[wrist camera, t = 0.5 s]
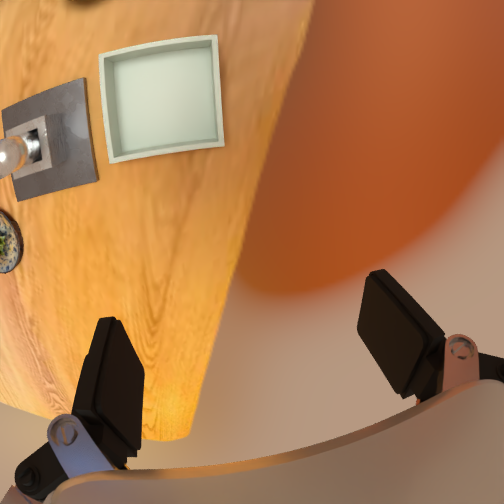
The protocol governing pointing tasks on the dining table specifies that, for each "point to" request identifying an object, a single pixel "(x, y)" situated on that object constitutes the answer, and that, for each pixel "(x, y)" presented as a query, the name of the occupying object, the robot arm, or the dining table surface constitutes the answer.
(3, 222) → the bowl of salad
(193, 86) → the bin
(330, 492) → the robot arm
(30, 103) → the stud block
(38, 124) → the grey piece
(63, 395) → the dining table surface
